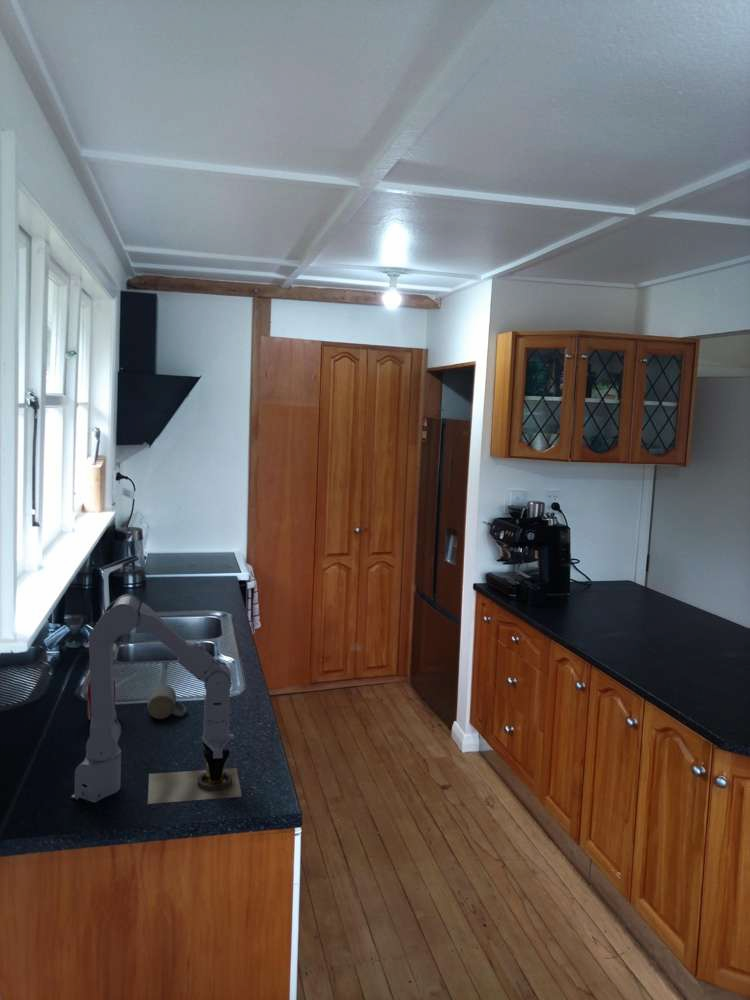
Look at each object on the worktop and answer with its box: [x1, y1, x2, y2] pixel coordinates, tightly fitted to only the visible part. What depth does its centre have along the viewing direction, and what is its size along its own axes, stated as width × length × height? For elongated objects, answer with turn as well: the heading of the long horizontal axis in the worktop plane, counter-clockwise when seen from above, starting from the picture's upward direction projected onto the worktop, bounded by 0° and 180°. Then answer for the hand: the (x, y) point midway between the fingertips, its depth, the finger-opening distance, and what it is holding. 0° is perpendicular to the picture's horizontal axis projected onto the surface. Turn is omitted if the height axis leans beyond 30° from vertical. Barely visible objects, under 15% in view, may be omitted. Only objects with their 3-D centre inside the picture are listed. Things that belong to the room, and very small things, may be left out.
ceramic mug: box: [147, 683, 188, 720], centre depth 216 cm, size 11×8×8 cm
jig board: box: [147, 767, 243, 805], centre depth 175 cm, size 20×14×2 cm
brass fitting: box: [205, 762, 225, 785], centre depth 176 cm, size 4×4×4 cm
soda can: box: [87, 680, 116, 721], centre depth 210 cm, size 7×7×12 cm
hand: (214, 775), depth 176 cm, fingers closed on brass fitting, 4 cm apart
